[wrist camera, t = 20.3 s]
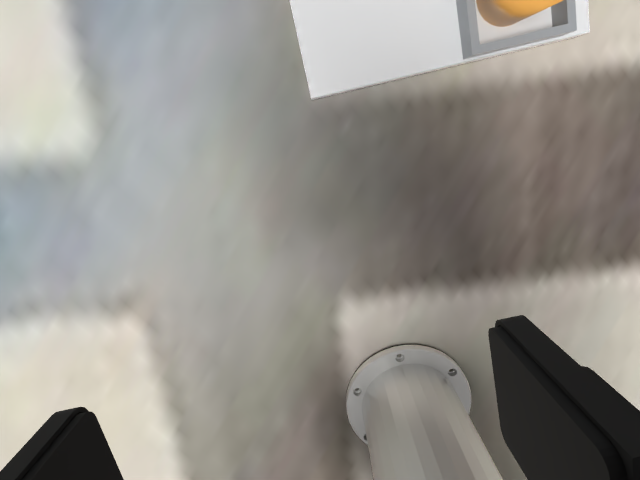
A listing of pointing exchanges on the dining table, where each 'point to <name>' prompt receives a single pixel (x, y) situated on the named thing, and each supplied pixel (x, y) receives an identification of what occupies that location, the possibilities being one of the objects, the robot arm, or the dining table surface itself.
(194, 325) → the dining table surface
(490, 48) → the panel
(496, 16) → the cap
